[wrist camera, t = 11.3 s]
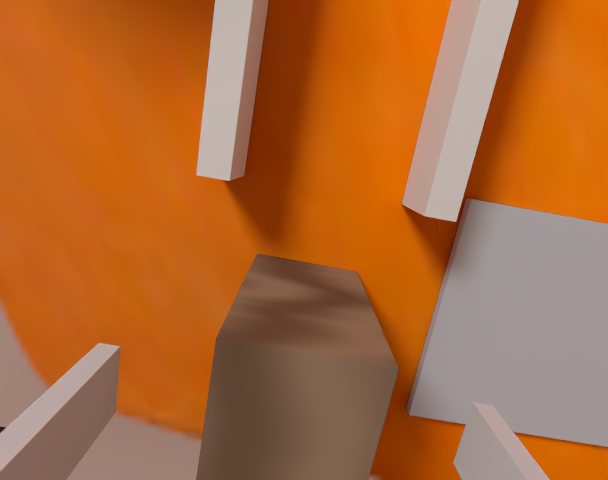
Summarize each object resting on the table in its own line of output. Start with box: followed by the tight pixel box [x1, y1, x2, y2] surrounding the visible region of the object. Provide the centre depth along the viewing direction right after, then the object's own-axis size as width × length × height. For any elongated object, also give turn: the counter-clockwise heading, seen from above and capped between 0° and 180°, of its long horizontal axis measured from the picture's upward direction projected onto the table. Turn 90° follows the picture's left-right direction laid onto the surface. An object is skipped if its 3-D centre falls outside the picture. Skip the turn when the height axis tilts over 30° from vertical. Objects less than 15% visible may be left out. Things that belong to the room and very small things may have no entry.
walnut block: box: [196, 254, 399, 480], centre depth 18 cm, size 6×12×10 cm, turn 170°
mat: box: [406, 198, 608, 447], centre depth 22 cm, size 20×14×1 cm
